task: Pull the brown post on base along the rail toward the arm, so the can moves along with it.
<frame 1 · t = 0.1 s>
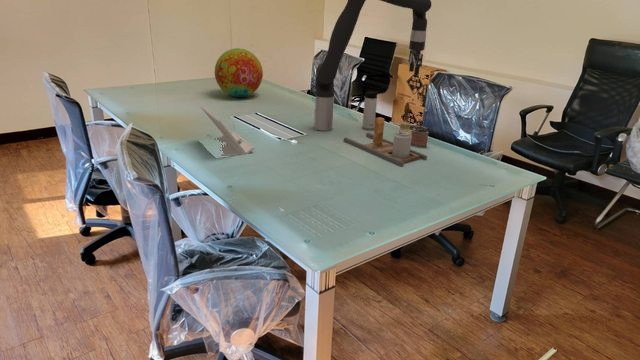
hand: (413, 73, 232), 29 cm above the table, tool pointing down, fingers open, 8 cm apart
travel mug: (368, 128, 241), on the table
brown post on base: (392, 138, 204), point 7 cm above the table, slide at 0.0 cm
rail: (390, 153, 207), on the table
tablet stand: (225, 147, 207), on the table
hand bell: (404, 133, 237), on the table
can: (400, 158, 203), resting in brown post on base
globe: (239, 96, 295), on the table
lighter: (418, 146, 218), on the table
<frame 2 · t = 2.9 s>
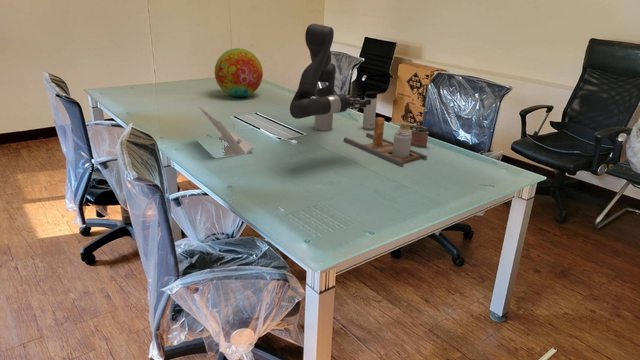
hand: (363, 99, 198), 24 cm above the table, tool horizontal, fingers open, 8 cm apart
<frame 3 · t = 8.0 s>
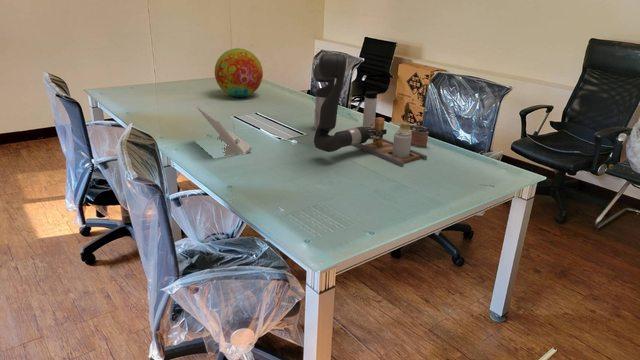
hand: (383, 130, 212), 8 cm above the table, tool horizontal, fingers closed on brown post on base, 3 cm apart
brown post on base: (392, 138, 204), point 7 cm above the table, slide at 0.0 cm, touching gripper
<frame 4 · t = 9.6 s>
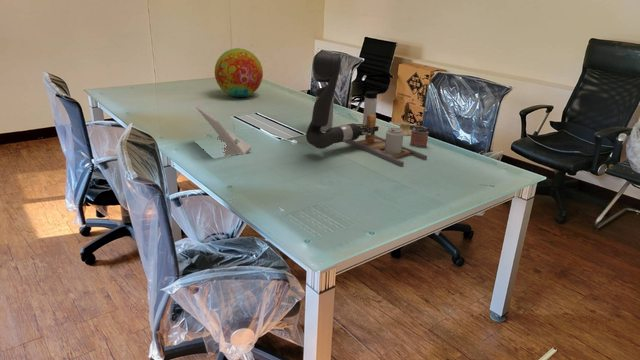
hand: (375, 127, 216), 8 cm above the table, tool horizontal, fingers closed on brown post on base, 3 cm apart
brown post on base: (383, 135, 208), point 7 cm above the table, slide at 5.5 cm, touching can, gripper
can: (392, 155, 206), resting in brown post on base
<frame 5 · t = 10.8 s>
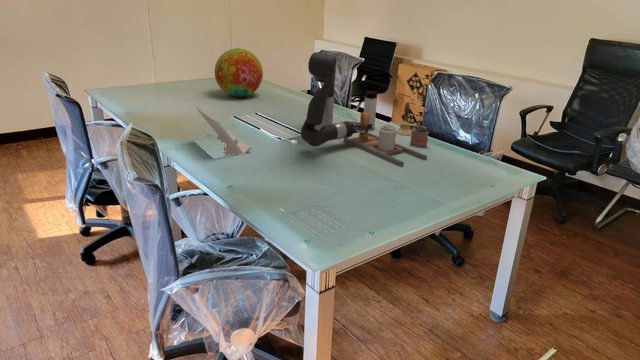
hand: (368, 125, 219), 8 cm above the table, tool horizontal, fingers closed on brown post on base, 3 cm apart
brown post on base: (377, 132, 211), point 7 cm above the table, slide at 9.8 cm, touching can, gripper
can: (385, 152, 209), resting in brown post on base
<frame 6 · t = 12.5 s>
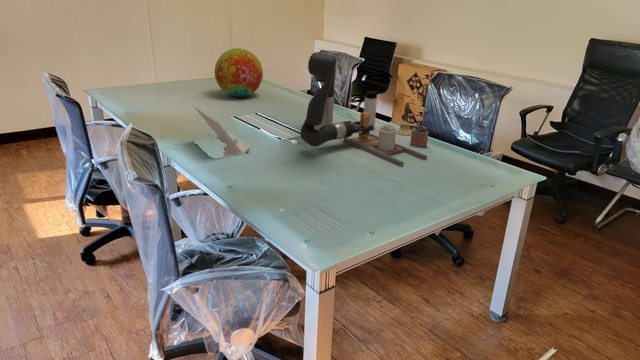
hand: (366, 125, 219), 8 cm above the table, tool horizontal, fingers open, 8 cm apart
brown post on base: (377, 132, 211), point 7 cm above the table, slide at 10.0 cm
can: (385, 152, 209), resting in brown post on base
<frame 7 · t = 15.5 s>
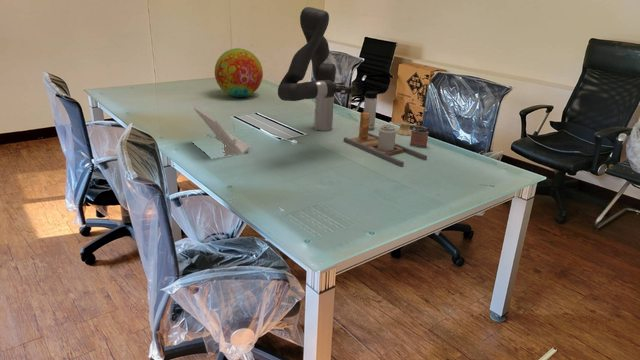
hand: (349, 86, 204), 28 cm above the table, tool horizontal, fingers open, 8 cm apart
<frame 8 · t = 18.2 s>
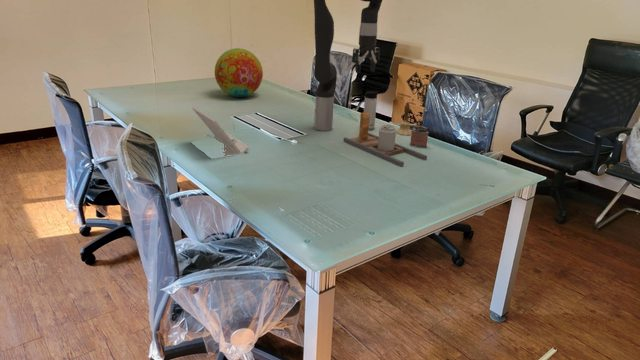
hand: (365, 72, 203), 34 cm above the table, tool pointing down, fingers open, 8 cm apart
at the end: brown post on base slide at 10.0 cm; can moved 9.2 cm from its start; can tilted 0° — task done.
